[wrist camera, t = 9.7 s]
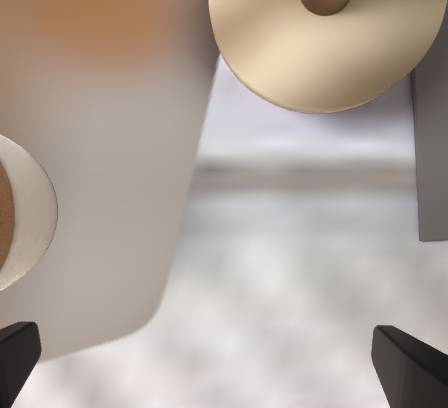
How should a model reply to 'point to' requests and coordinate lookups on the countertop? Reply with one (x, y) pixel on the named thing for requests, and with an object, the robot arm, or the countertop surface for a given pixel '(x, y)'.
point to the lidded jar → (23, 212)
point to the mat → (432, 136)
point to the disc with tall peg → (323, 47)
